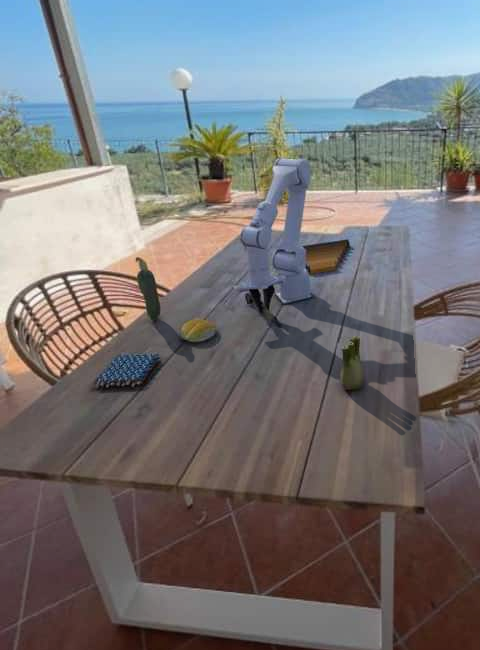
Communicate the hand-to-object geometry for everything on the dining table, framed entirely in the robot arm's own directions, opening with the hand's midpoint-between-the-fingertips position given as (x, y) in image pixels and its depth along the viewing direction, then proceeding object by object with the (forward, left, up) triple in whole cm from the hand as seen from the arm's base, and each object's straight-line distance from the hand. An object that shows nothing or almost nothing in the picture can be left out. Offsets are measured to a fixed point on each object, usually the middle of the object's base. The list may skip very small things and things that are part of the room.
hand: (263, 309), depth 114 cm
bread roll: (+18, 0, -3) cm, 18 cm away
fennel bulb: (-8, +39, -3) cm, 40 cm away
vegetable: (+28, -14, -3) cm, 31 cm away
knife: (0, 0, -2) cm, 2 cm away
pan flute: (-38, -33, -3) cm, 50 cm away
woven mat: (+35, +9, -3) cm, 36 cm away
